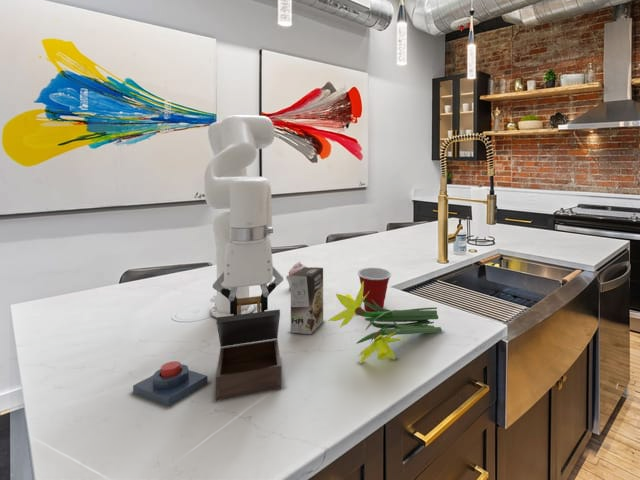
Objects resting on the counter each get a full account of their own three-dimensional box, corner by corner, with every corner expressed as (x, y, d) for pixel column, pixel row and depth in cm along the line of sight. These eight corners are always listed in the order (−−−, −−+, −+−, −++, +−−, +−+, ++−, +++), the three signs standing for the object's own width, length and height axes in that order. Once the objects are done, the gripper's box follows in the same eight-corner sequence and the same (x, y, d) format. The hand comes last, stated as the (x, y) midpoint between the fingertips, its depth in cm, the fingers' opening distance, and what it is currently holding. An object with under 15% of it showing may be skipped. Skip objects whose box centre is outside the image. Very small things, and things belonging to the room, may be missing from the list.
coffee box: (311, 334, 111) (311, 276, 111) (289, 332, 112) (289, 274, 112) (324, 321, 120) (324, 267, 120) (304, 319, 121) (303, 266, 121)
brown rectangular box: (281, 388, 85) (281, 365, 85) (215, 401, 81) (215, 377, 81) (277, 358, 98) (277, 338, 98) (220, 368, 94) (220, 347, 94)
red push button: (157, 375, 85) (157, 367, 85) (173, 367, 88) (173, 359, 88) (168, 379, 83) (168, 371, 83) (184, 371, 86) (184, 363, 86)
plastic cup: (378, 318, 122) (378, 278, 122) (350, 311, 128) (350, 273, 128) (398, 307, 131) (397, 270, 131) (371, 300, 137) (370, 265, 137)
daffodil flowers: (464, 344, 107) (370, 355, 82) (423, 360, 114) (324, 374, 89) (445, 282, 116) (355, 275, 91) (408, 300, 123) (314, 297, 98)
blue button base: (132, 393, 84) (132, 376, 84) (173, 372, 92) (173, 357, 92) (168, 407, 79) (168, 389, 79) (207, 383, 87) (207, 367, 87)
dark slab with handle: (280, 314, 88) (278, 290, 91) (216, 323, 83) (217, 297, 87) (277, 338, 98) (276, 315, 101) (220, 347, 93) (221, 323, 97)
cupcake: (308, 293, 145) (308, 265, 145) (282, 293, 145) (282, 265, 145) (314, 284, 154) (314, 258, 154) (290, 284, 155) (290, 258, 154)
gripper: (286, 228, 97) (287, 304, 97) (208, 233, 91) (208, 314, 91) (289, 234, 90) (290, 316, 90) (204, 239, 84) (205, 327, 84)
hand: (249, 314), depth 90 cm, fingers closed on dark slab with handle, 5 cm apart
